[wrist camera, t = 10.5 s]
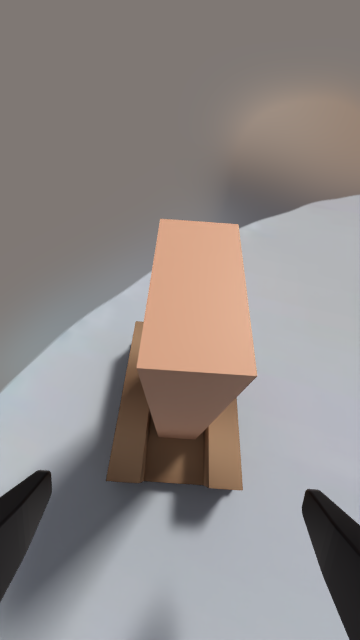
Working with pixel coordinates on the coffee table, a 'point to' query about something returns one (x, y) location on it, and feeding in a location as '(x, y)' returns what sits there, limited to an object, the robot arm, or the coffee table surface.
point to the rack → (171, 442)
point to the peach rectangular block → (195, 327)
